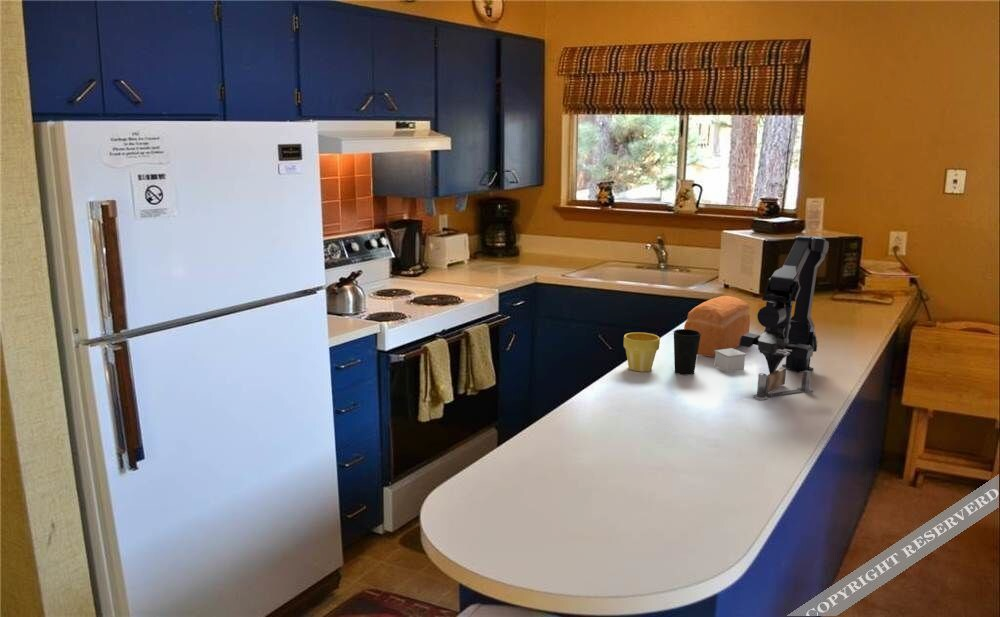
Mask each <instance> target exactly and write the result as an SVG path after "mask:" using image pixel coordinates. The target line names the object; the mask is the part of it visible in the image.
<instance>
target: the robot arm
mask: <svg viewBox="0 0 1000 617" xmlns="http://www.w3.org/2000/svg"><path fill="white" fill-rule="evenodd" d="M829 244H830V242H829V240H826V238H825V237H824V236H815V235H802V234H801V235H800V234H799V235H796V236H795V237H794V239H793V245H792V247H791V249H790V251H789V253H788V255H787V257H786V259H785V261H784V263H783V265H782V267H780V268H779V269H778V268H777V269H776V270H774V272H773V273H772V275H771V276H770V277H769V278H768V280H767V283H766V286H765V289H764V292H763V296H762V301H765V302H766V303H765V306H762V307H761V308H760V309H759V310H758V312H757V316H756V317H757V321H758V322H759V324H760V325H761V326H762V327H765V329H764V331H763V332H762V334H755V333H751V332H749V333H747V334H745V335H743V336H741V337H740V340H739V345H740V346H739V347H746V348H751V347H753V345H754V346H757V349H758V351H759V353H760V354H763V356H764V357H765V360H766V363H767V367H768V372H769V374H771V373H772V372H774V371H776V370H778V367H779V365H780V364H781V362H782V361H783V359H785V363H784V364H782V365H781V367H783V368H786V369H788V370H791V371H793V372H796V373H803V371H805V370H808V371H814V367H811V358H812V357H813V355H814V353H815V352H817V351H818V339H817V335H816V332H815V323H814V322H813V321H814V320H813V319H812V318H811V315H812V307H813V300H814V293H815V288H816V287H815V286H816V280H817V273H818V269H819V268H818V267H820V265H821V264H822V262H823V261H825V258H826V254H828V253H829V252H828V251H829V247H830V246H829ZM794 302H795V305H794V311H793V304H794ZM792 312H793V313H792ZM792 314H793V315H792Z"/></svg>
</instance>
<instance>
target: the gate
mask: <svg viewBox="0 0 1000 617" xmlns="http://www.w3.org/2000/svg"><path fill="white" fill-rule="evenodd" d="M786 374H787V368H785V367H783V366H780V367H779V368H777V369H776V371H774V372H772V373H771V374H770V373H769V374H766V375H767V377H766V387H765V395H767V394H770V393H772V392H773V391H775V390H776V389H777V388H779V387H781V386H784V385H785V384H786Z"/></svg>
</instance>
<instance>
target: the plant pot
mask: <svg viewBox="0 0 1000 617" xmlns="http://www.w3.org/2000/svg"><path fill="white" fill-rule="evenodd" d="M660 340H661V338H660V336H658V335H656V334H655V333H648V332H628V333H625V334H624V336H623V348H624V349H625V354H626V358H627V366H628V368H629V370H632V371H634V372H640V373H642V372H643V373H644V372H650V371H651V370H652V368H653V364H654V361H655V358H656V355H657V351H659V350H660V343H661V342H660Z"/></svg>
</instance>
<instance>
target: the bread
mask: <svg viewBox="0 0 1000 617" xmlns="http://www.w3.org/2000/svg"><path fill="white" fill-rule="evenodd" d="M749 306H750V305H749V303H747V302H746V301H744V300H743V299H741V298H738V297H736V296H730V295H729V296H728V295H723V296H722V295H721V296H717V297H714V298H710V299H708V300H706V301H703V302H702V303H700V304H698V305H697V306H696V305H695V307H694V308H692V309H691V310H690V311H689V312H688V314H687V319H686V320H685V323H684V326H683V329H690V330H695V331H698V332H700V333H701V336H700V342H699V348H698V353H697V356H704V357H710V358H715V354H716V352H715V350H721V349H729V348H733V349H735V350H736V348H738V347H741V346H740V345H739V340H740V337H741V336H743V335H745V334H747V333H750V325H751V316H750V313H749V309H750V307H749Z"/></svg>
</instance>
